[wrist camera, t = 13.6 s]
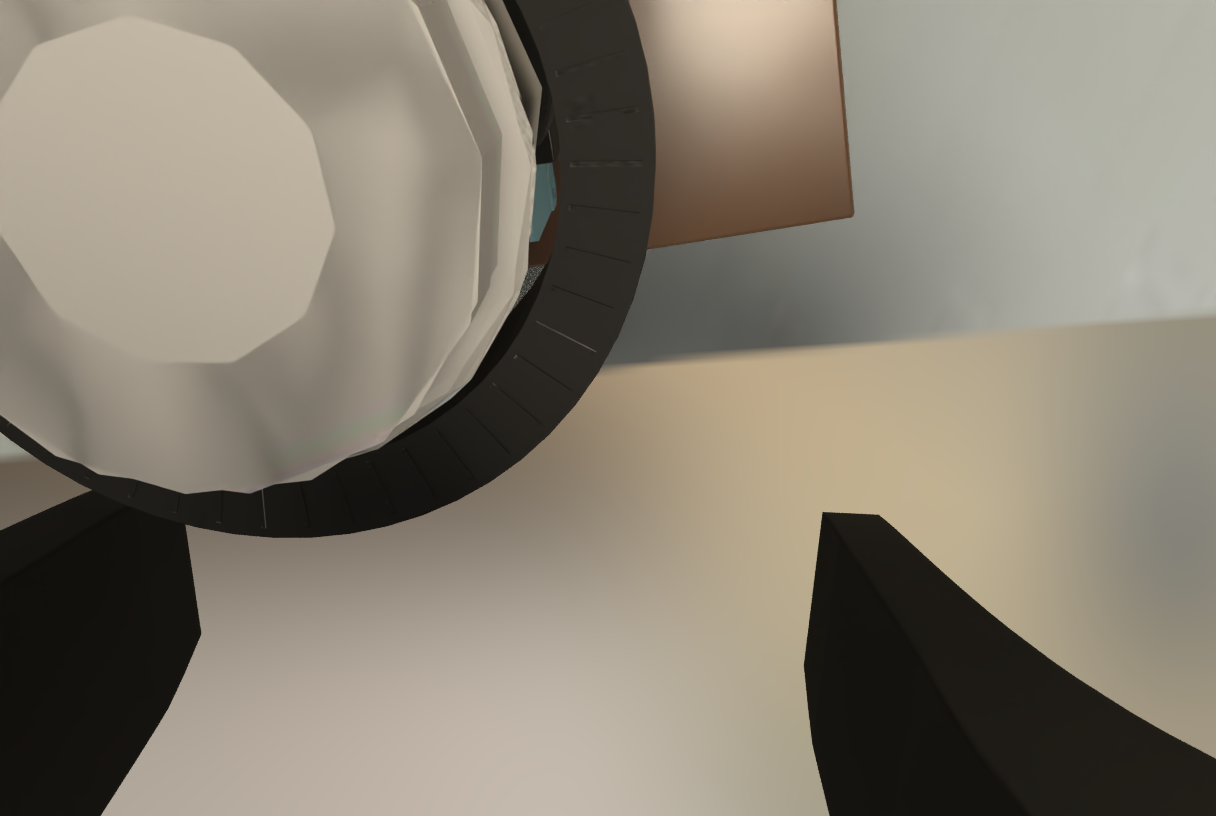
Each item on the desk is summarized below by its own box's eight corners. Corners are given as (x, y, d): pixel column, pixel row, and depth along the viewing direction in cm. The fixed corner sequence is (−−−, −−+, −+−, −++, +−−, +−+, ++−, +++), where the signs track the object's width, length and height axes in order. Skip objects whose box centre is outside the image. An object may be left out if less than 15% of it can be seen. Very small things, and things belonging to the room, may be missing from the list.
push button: (204, -253, 14) (-727, -648, 5) (619, -330, 13) (510, -955, 4) (332, 252, 16) (-98, 653, 7) (683, 206, 16) (706, 575, 7)
